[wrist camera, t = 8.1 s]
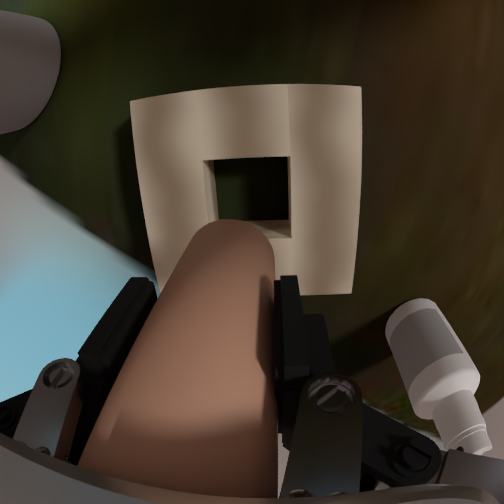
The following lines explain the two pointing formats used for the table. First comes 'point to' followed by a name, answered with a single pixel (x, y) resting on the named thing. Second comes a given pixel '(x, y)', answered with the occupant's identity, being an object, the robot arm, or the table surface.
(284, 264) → the socket block
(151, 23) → the table surface
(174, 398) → the peg
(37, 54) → the cylinder vase
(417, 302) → the spray bottle
